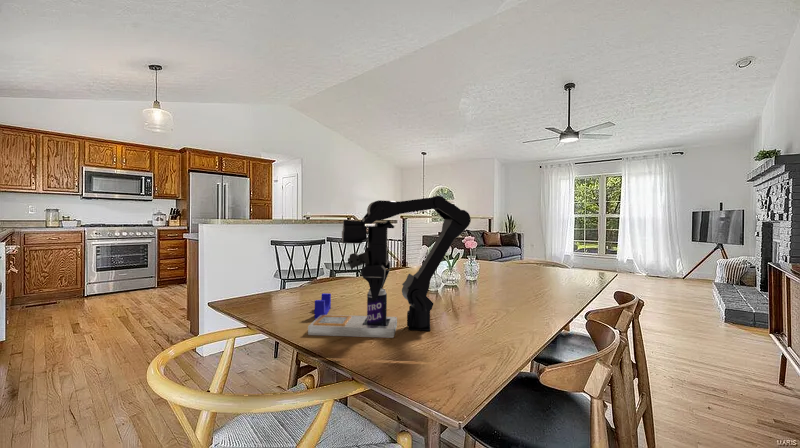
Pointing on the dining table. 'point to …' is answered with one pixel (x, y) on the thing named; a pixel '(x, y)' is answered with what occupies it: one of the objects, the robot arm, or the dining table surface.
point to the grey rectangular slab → (351, 326)
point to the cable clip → (322, 305)
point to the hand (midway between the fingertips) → (376, 296)
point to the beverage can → (377, 309)
